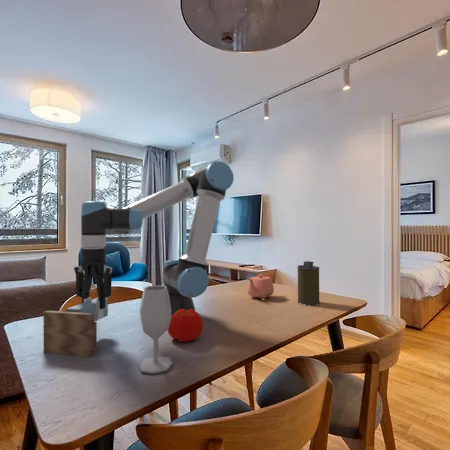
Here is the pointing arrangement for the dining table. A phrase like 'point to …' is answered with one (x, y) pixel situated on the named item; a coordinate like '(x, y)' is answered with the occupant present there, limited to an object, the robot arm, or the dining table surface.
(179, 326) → the tomato
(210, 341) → the dining table surface
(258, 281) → the teapot
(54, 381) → the dining table surface
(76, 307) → the rail
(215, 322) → the dining table surface
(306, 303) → the canister
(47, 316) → the panel
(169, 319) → the wineglass
